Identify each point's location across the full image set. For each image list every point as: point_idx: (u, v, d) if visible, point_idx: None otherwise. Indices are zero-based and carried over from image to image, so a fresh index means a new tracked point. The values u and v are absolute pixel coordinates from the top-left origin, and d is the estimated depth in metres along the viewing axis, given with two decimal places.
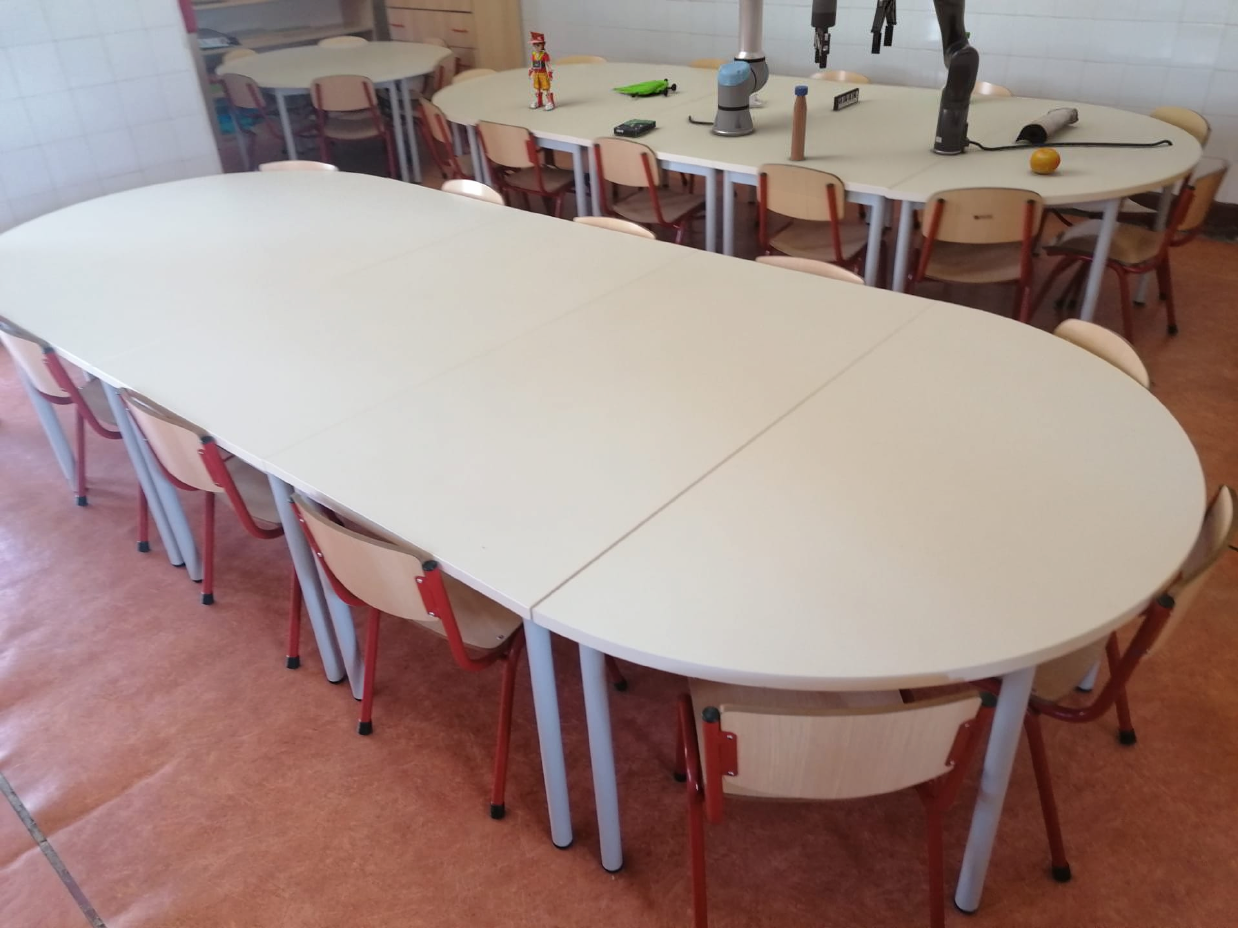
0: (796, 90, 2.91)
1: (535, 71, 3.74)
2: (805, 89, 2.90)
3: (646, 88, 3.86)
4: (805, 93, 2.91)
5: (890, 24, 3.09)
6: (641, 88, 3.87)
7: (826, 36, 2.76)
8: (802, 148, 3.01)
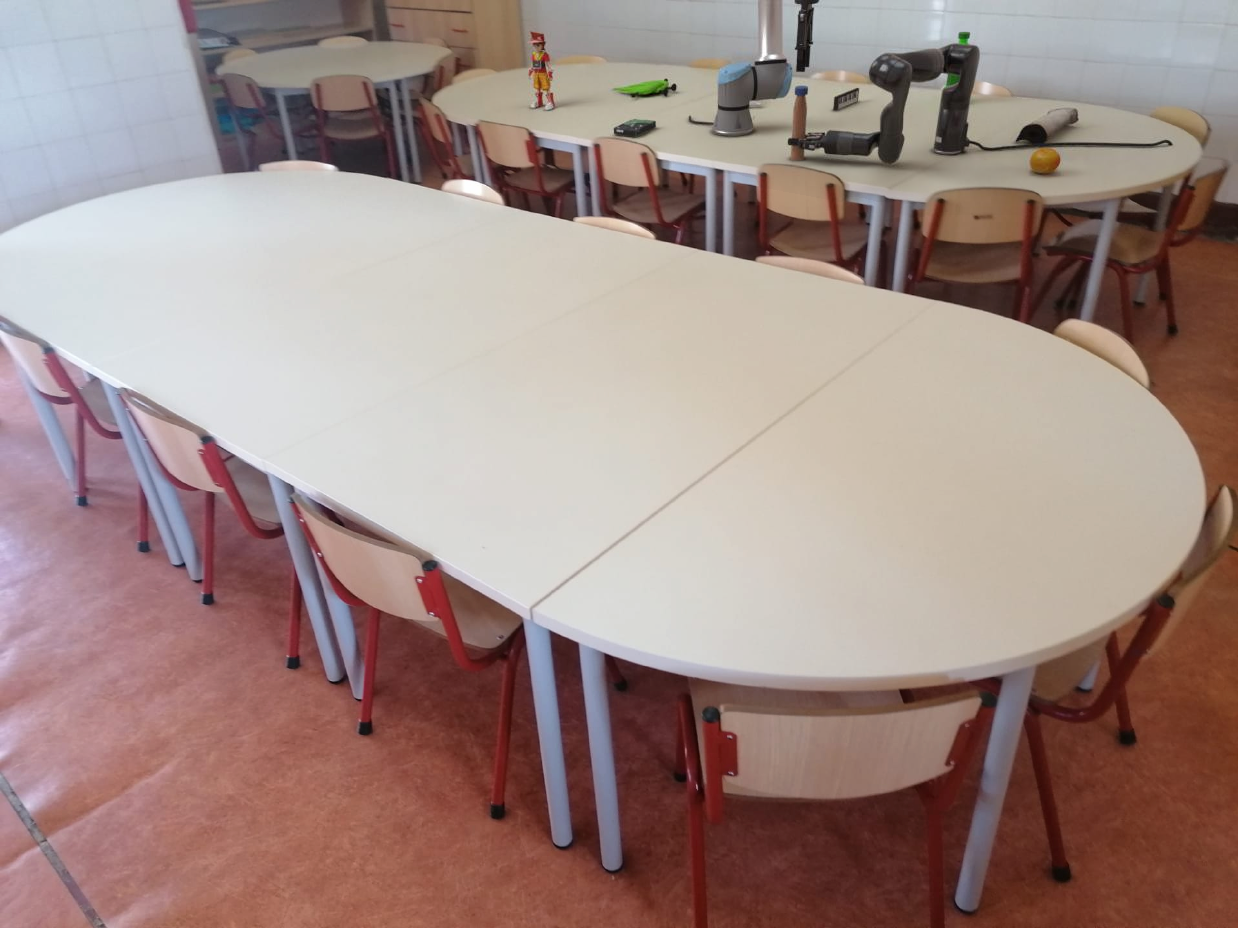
0: (796, 90, 2.91)
1: (535, 71, 3.74)
2: (805, 89, 2.90)
3: (646, 88, 3.86)
4: (805, 93, 2.91)
5: None
6: (641, 88, 3.87)
7: None
8: None
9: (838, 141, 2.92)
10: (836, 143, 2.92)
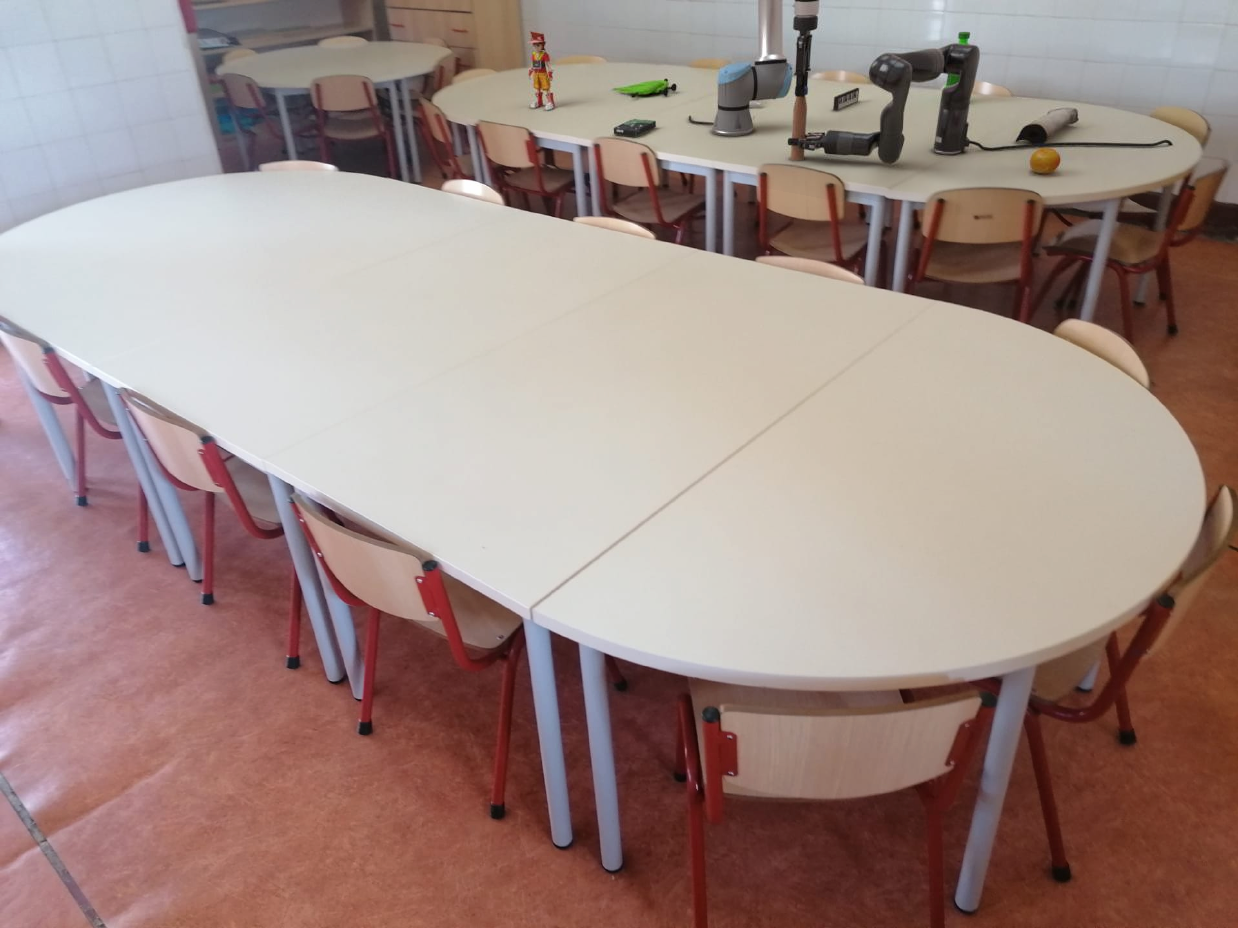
0: None
1: (535, 71, 3.74)
2: (805, 89, 2.90)
3: (646, 88, 3.86)
4: (805, 93, 2.91)
5: None
6: (641, 88, 3.87)
7: None
8: None
9: (838, 141, 2.92)
10: (836, 143, 2.92)
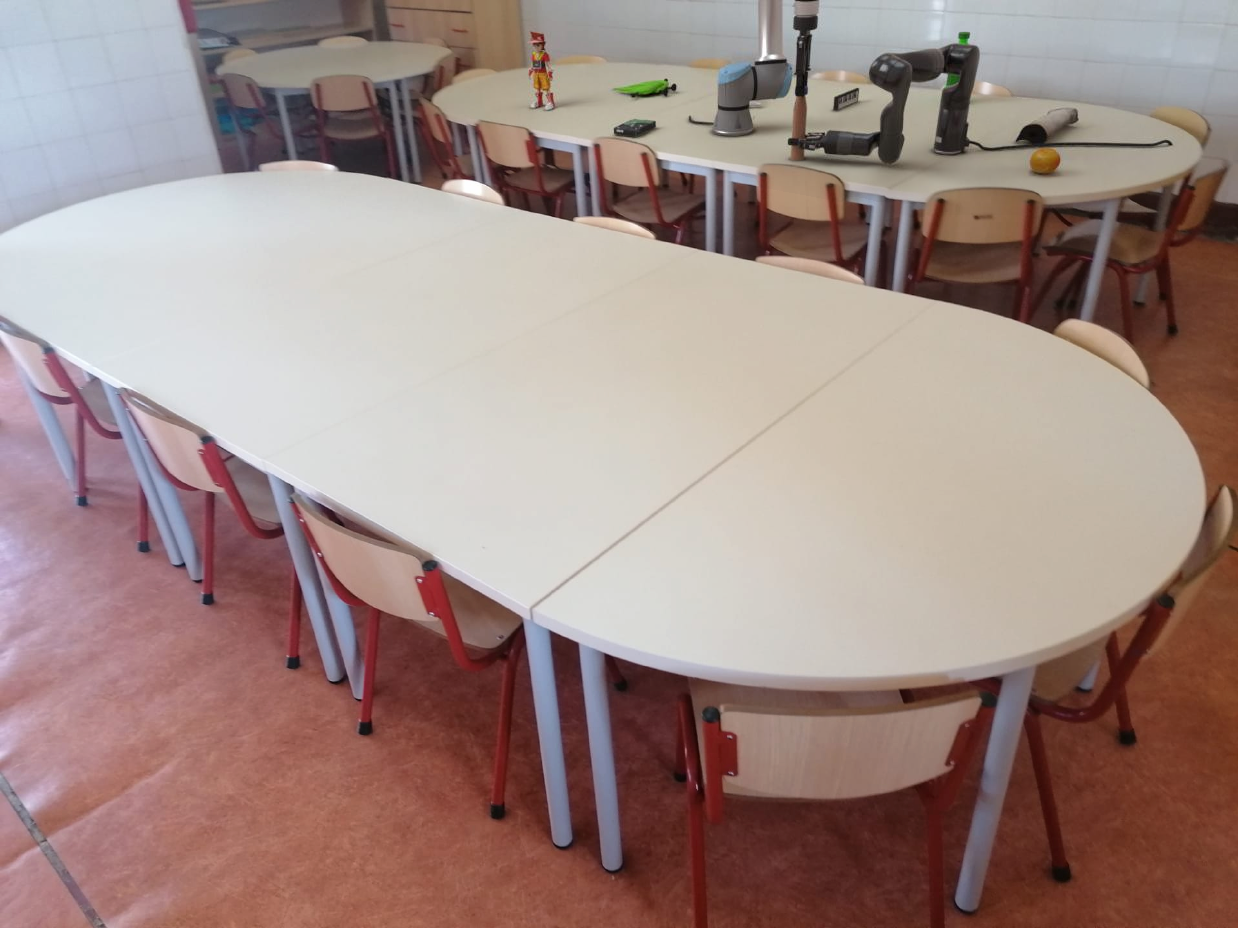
0: (804, 90, 2.90)
1: (535, 71, 3.74)
2: None
3: (646, 88, 3.86)
4: None
5: None
6: (641, 88, 3.87)
7: None
8: None
9: (838, 141, 2.92)
10: (836, 143, 2.92)
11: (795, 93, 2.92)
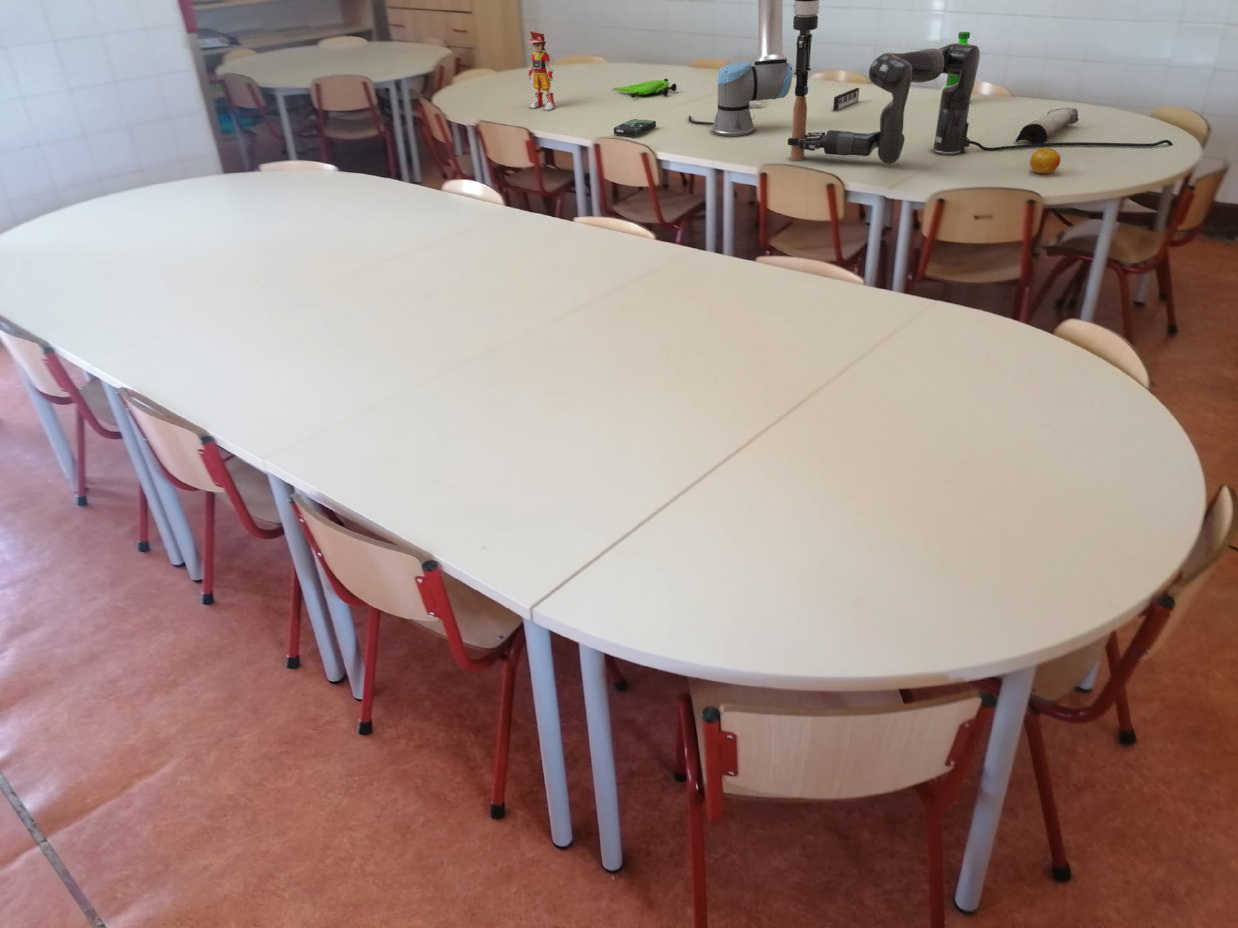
0: None
1: (535, 71, 3.74)
2: None
3: (646, 88, 3.86)
4: None
5: None
6: (641, 88, 3.87)
7: None
8: None
9: (838, 141, 2.92)
10: (836, 143, 2.92)
11: None
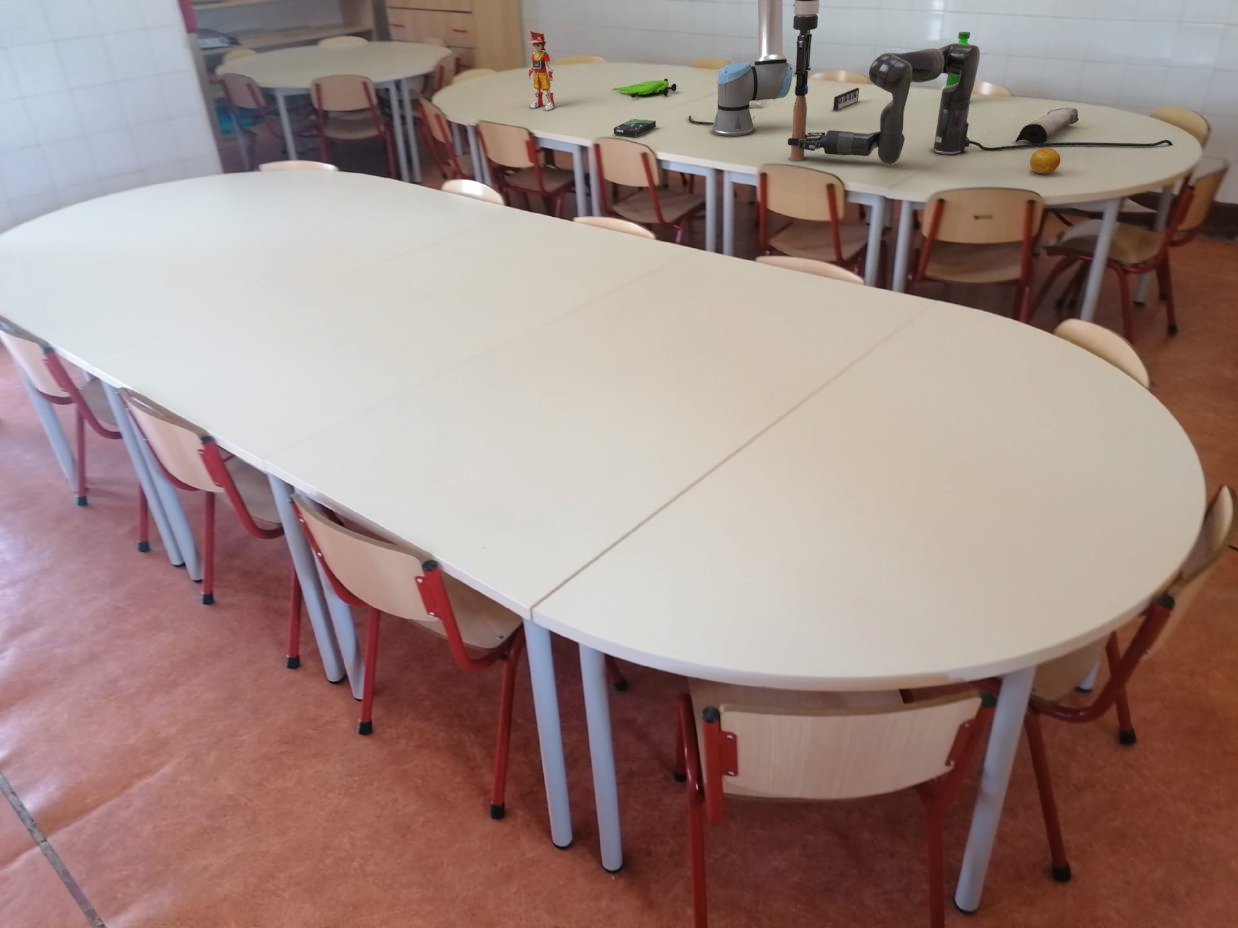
0: None
1: (535, 71, 3.74)
2: (795, 88, 2.91)
3: (646, 88, 3.86)
4: (795, 92, 2.92)
5: None
6: (641, 88, 3.87)
7: None
8: None
9: (838, 141, 2.92)
10: (836, 143, 2.92)
11: (807, 92, 2.92)
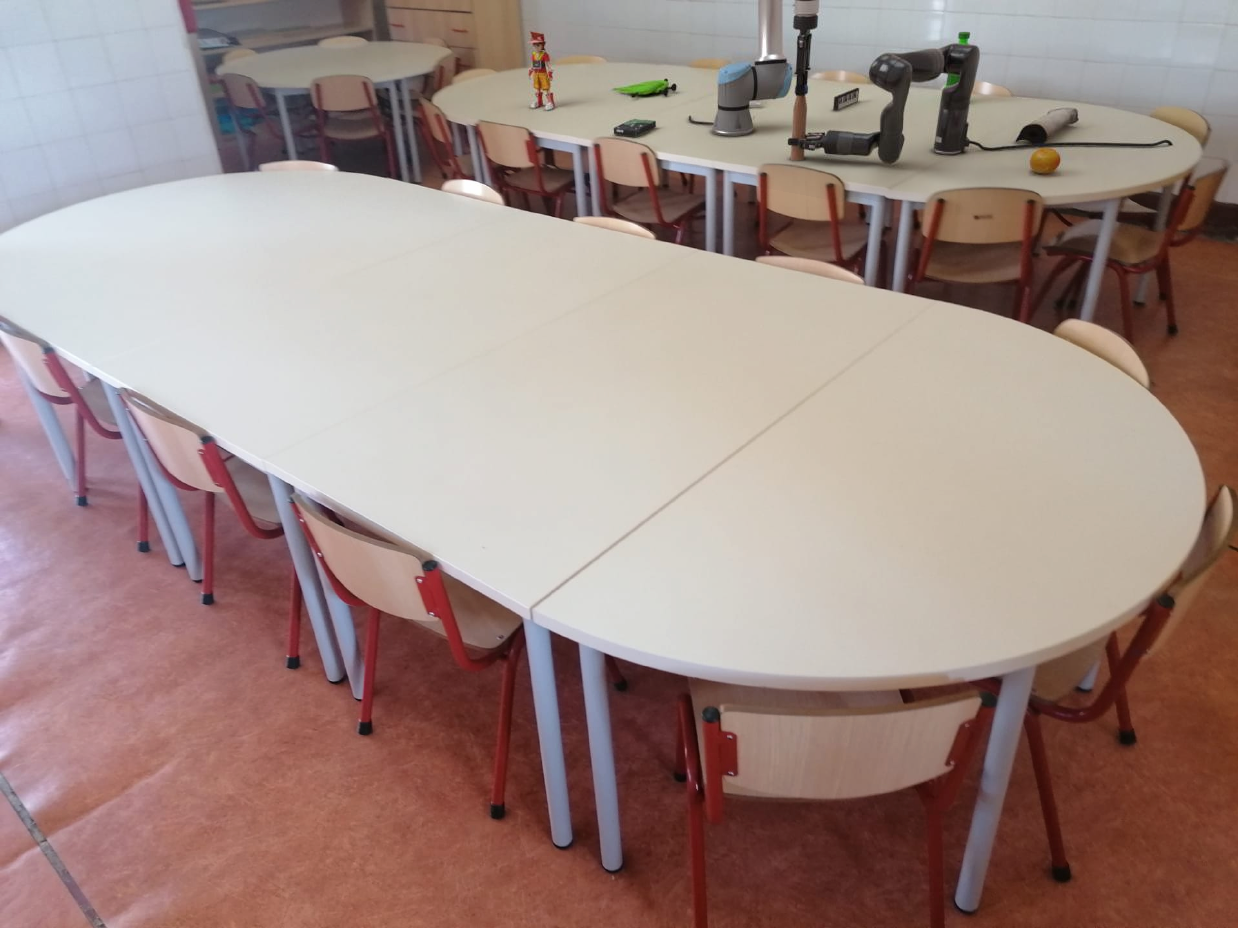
0: (795, 88, 2.92)
1: (535, 71, 3.74)
2: None
3: (646, 88, 3.86)
4: None
5: None
6: (641, 88, 3.87)
7: None
8: None
9: (838, 141, 2.92)
10: (836, 143, 2.92)
11: None
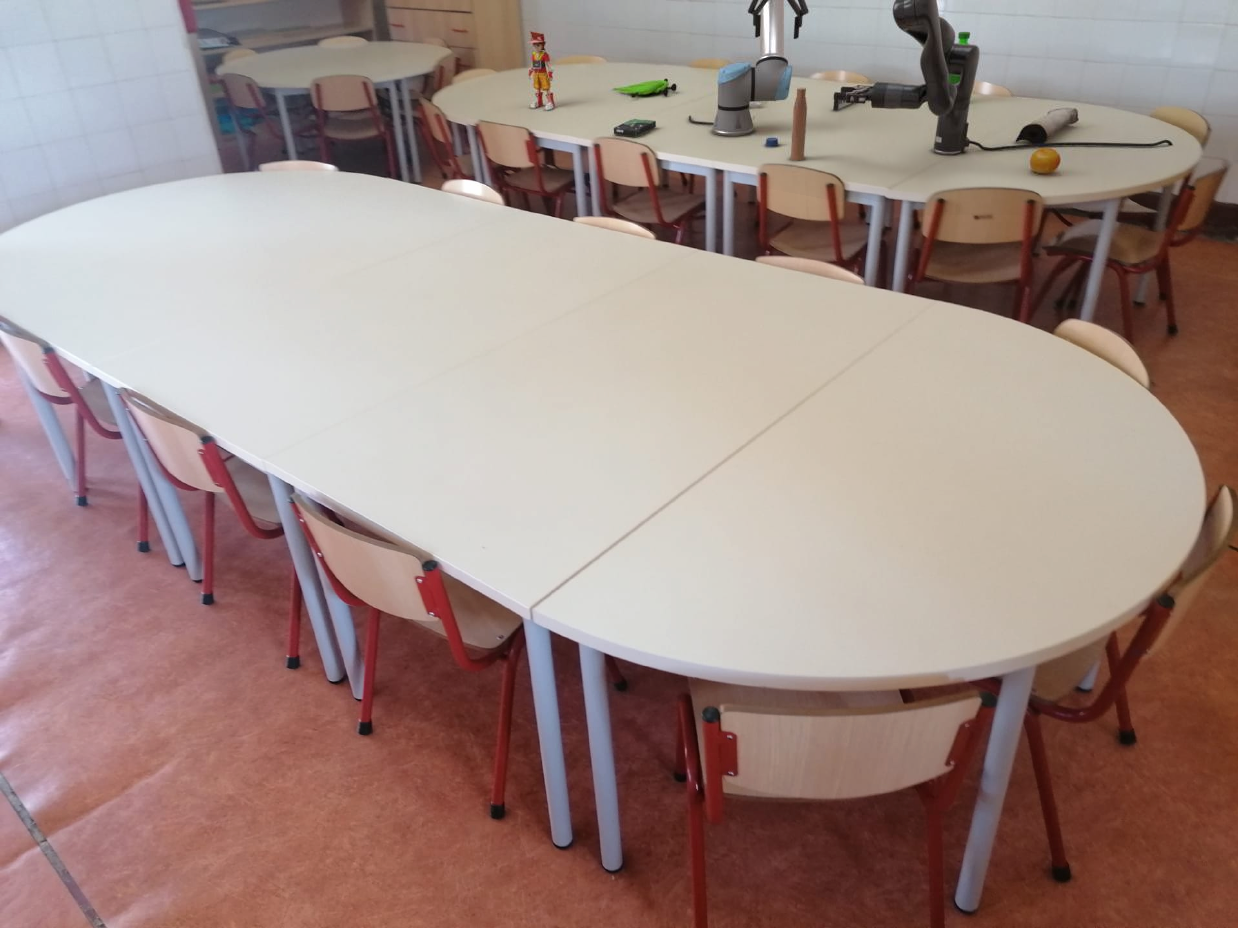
0: (770, 142, 3.17)
1: (535, 71, 3.74)
2: (777, 140, 3.17)
3: (646, 88, 3.86)
4: (777, 143, 3.18)
5: None
6: (641, 88, 3.87)
7: None
8: (802, 148, 3.01)
9: (886, 93, 2.78)
10: (884, 95, 2.78)
11: (766, 143, 3.19)
